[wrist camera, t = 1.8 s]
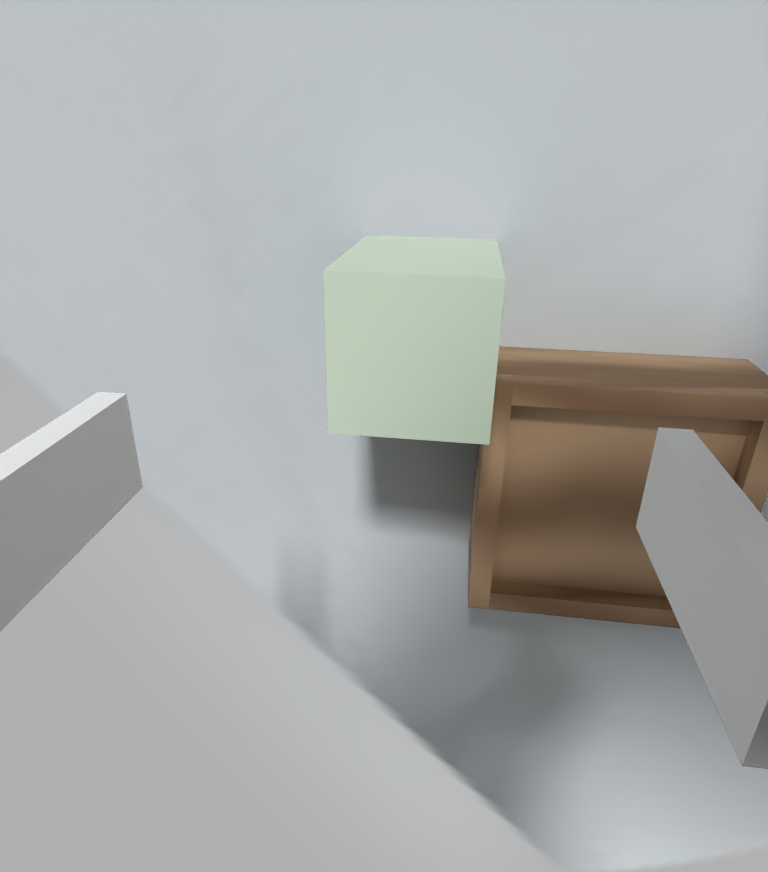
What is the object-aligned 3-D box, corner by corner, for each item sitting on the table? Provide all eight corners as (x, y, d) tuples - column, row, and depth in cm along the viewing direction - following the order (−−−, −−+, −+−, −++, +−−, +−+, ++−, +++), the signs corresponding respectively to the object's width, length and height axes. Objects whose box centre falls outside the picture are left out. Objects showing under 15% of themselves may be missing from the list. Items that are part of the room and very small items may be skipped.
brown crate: (487, 346, 30) (489, 381, 25) (747, 359, 28) (798, 399, 24) (469, 547, 35) (468, 606, 30) (687, 567, 33) (720, 632, 29)
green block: (366, 235, 28) (323, 270, 20) (496, 239, 28) (506, 277, 19) (366, 358, 31) (327, 433, 23) (485, 365, 30) (489, 444, 22)
